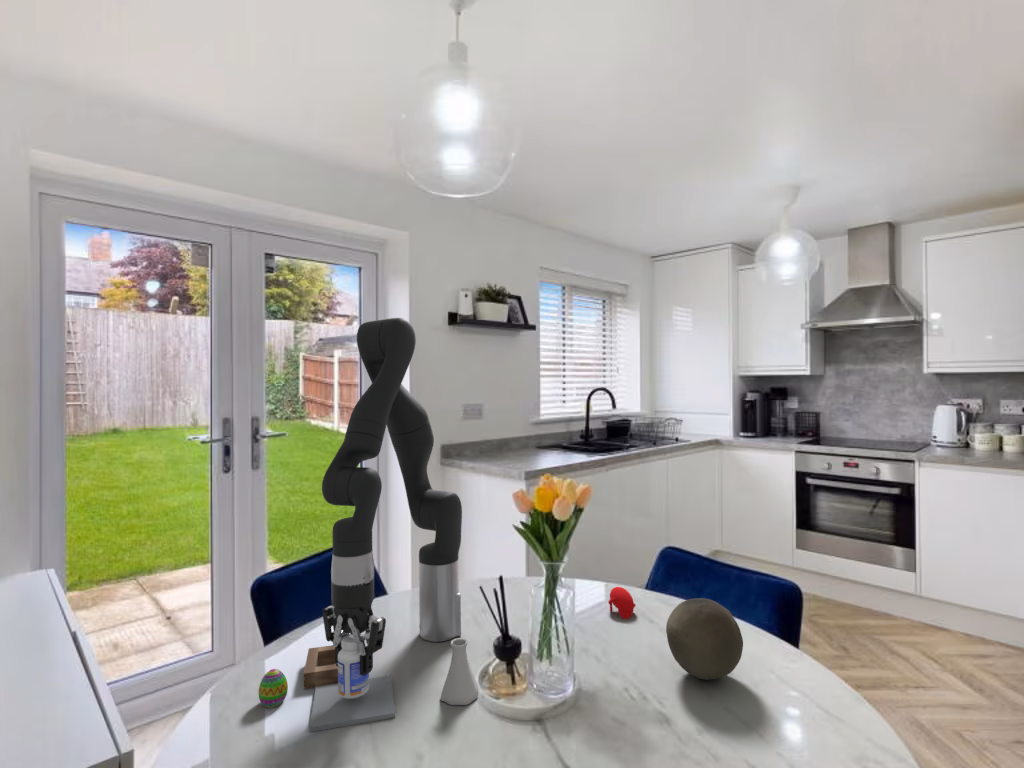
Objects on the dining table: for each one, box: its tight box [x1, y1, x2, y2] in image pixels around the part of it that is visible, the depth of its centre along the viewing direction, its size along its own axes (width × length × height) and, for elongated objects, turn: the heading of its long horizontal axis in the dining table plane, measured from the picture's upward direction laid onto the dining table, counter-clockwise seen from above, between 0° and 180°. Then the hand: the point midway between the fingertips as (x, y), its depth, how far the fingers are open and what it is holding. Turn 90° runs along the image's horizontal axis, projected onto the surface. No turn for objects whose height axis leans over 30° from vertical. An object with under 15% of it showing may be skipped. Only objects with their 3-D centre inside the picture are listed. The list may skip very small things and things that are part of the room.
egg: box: [258, 668, 289, 709], centre depth 99 cm, size 5×5×6 cm
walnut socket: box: [303, 644, 338, 690], centre depth 110 cm, size 11×11×3 cm
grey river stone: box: [665, 597, 744, 681], centre depth 106 cm, size 14×14×15 cm
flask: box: [439, 637, 479, 706], centre depth 101 cm, size 7×7×10 cm
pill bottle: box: [338, 633, 370, 699], centre depth 99 cm, size 5×5×10 cm
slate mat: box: [309, 674, 396, 733], centre depth 99 cm, size 14×13×1 cm
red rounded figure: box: [608, 586, 636, 620], centre depth 137 cm, size 8×6×6 cm
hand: (353, 669), depth 99 cm, fingers closed on pill bottle, 5 cm apart
